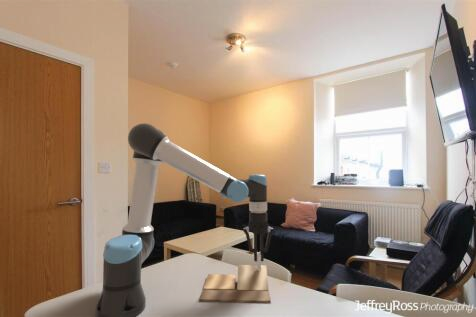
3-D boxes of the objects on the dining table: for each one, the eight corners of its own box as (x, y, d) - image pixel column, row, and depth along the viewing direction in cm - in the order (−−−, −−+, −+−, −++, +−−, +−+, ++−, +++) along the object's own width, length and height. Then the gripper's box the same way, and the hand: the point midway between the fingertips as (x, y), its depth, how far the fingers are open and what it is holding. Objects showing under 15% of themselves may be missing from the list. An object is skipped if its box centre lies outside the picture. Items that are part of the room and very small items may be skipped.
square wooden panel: (237, 292, 94) (237, 289, 93) (238, 267, 105) (238, 264, 104) (268, 293, 93) (268, 290, 93) (266, 267, 104) (266, 265, 104)
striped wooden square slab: (203, 292, 94) (203, 288, 94) (208, 277, 106) (208, 274, 106) (234, 293, 93) (234, 289, 94) (235, 278, 105) (235, 274, 106)
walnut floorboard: (199, 303, 86) (199, 299, 86) (203, 293, 93) (203, 289, 93) (270, 305, 85) (270, 300, 85) (268, 294, 93) (268, 290, 93)
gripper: (242, 213, 99) (243, 272, 97) (275, 213, 98) (276, 273, 97) (242, 210, 106) (243, 265, 105) (272, 210, 106) (273, 265, 104)
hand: (258, 269), depth 101 cm, fingers closed
